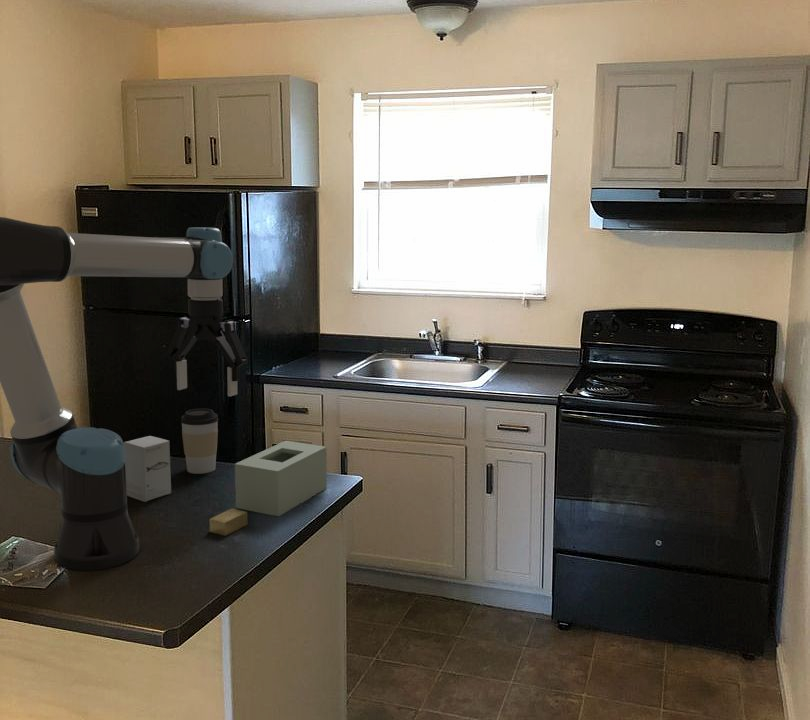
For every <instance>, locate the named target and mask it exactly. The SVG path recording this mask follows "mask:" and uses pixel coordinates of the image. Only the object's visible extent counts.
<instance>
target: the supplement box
mask: <svg viewBox="0 0 810 720" xmlns="http://www.w3.org/2000/svg"><path fill="white" fill-rule="evenodd" d="M123 444H124V450H125V454H126V461H125V468H126V489H127V497H130V498H133V499H135V500H139V501H141V502H144V503H146V502H148V501H151V500H153V499H157V498H160V497H164V496H167V495H170V494H171V493H172V481H171V478H172V477H171V475H172V474H171V455H170V454H171V452H170V448H171V447H170V446H171V445H170V440H169V439H168V440H167V439H164V438H161V437H156V436H152V435H148V436H143V437H139V438H136V439H132V440H131V439H130V440H128V441H123Z"/></svg>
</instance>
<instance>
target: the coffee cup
mask: <svg viewBox="0 0 810 720" xmlns="http://www.w3.org/2000/svg"><path fill="white" fill-rule="evenodd" d="M218 416H219V415H218V414H217V413H215V412H214V410H213V409H211V408H192V409H189V410H186V411H185V413H184V414H183V415H182V416H181V417H180V423H181V428H182V429H181V434H182V435H181V437H182V443H183V452H184V455H185V463H186V471H187V472H188V473H190V474H194V475H195V474H196V475H198V474H199V475H200V474H201V475H202V474H209V473H211V472H213V471H215V470H216V464H217V461H216V460H217V452H218V451H217V450H218V449H217V448H218V437H219V435H218V432H219V429H218V425H219V424H218V423H219V422H218V421H219V417H218Z"/></svg>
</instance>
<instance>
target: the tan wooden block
mask: <svg viewBox="0 0 810 720" xmlns="http://www.w3.org/2000/svg"><path fill="white" fill-rule="evenodd" d="M247 525H248V511H247V510H242V509H238V508H232V507H231V508H229V509H227V510H226V511H223V512H221V513H219V514H217V515H214V516H212V517H211V518H209V533H213V534H217V535H220V536H225V537H226V536H228V535H229V534H232V533H233V532H236V531H237V530H240V529H241V528H243V527H245V526H247Z"/></svg>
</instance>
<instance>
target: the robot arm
mask: <svg viewBox="0 0 810 720" xmlns="http://www.w3.org/2000/svg"><path fill="white" fill-rule="evenodd" d="M222 236H223V235H222V232H221V230H220V229H219V228H218V227H217V228H216V227H204V226H203V227H195V226H194V227H188V228H187V230H186V235H185V236H183V237H176V236H175V237H173V236H172V237H171V236H170V237H167V236H166V237H164V236H162V237H158V236H153V237H151V236H150V237H149V236H148V237H146V236H131V235H128V236H127V235H113V234H97V233H95V234H94V233H93V234H91V233H78V232H77V233H75V232H67V230H65V228H63V227H61V226H58V225H57V226H55V225H43V224H38V223H31V222H27V221H24V220H23V221H22V220H20V219H14V218H9V217H4V216H3V217H2V216H0V385H1V388H2V391H3V394H4V396H5V399H6V401H7V404H8V406H9V409H10V412H11V414H12V416H13V420H14V423H13V424H12V426H11V428H10V430H9V431H10V432H9V433H10V436H11V438H12V444H10V449H9V450H10V451H9V452H10V459H11V462H12V465H13V467H14V469H15V470H16V471H17V472H18V473H19V474H20V475H21V476H22V477H24V478H25V479H26V480H28V481H29V482H32V483H34V484H38V485H40V486H42V487H45V488H48V489H49V490H53V491H55V492H57V493H59V494H60V506H61V523H60V526H59V529H58V535H57V540H56V542H55V544H54V548H53V552H54V553H53V554H54V562H55V561H56V562H55V564H56V565H58V566H59V565H60V568H61V567H62V568H63V569H66V570H71V571H97V570H105V569H109V568H113V567H117V566H120V565H123V564H125V563H127V562H129V561H132V559H134V558H135V557H136V556H137V555H138V554H139V552H140V539H139V535H138V533H137V532H136V531H135V528H134V524H133V521H132V520H131V519H132V518H131V517H130V514H129V511H128V496H127V489H126V468H125V461H126V454H125V450H124V444H123V443H124V441H123V439H122V437H121V435H119V434H118V433H116V432H114V431H113V430H110V429H106V428H101V427H100V428H96V427H92V426H91V427H90V426H88V427H87V426H86V427H78V425H77V423H76V420H75V417H74V414H73V412H72V410H71V409H69V408H67V407H63V406H62V405H61V403H60V400H59V398H58V394H57V392H56V391H57V390H56V389H55V386H54V383H53V379H52V378H51V375H50V371H49V369H48V367H47V364H46V361H45V357H44V355H43V352H42V349H41V347H40V344H39V341H38V338H37V336H36V332H35V330H34V327H33V324H32V321H31V319H30V316H29V313H28V310H27V307H26V305H25V301H24V299H23V295H22V293H21V290H22V289H23V286H24V285H26V284H33V283H48V282H49V283H50V282H53V283H56V282H57V283H58V282H59V283H60V282H63V281H65V279H66V278H68V277H115V278H117V277H118V278H119V277H120V278H122V277H123V278H124V277H125V278H127V277H128V278H129V277H130V278H131V277H133V278H134V277H137V278H187V296H188V297H189V299H188V300H187V307H188V309H187V313H188V315H189V318H188V317H187V316H184V317H178V318H177V320H176V329H175V331H174V334H173V336H172V339H171V341H170V343H169V347H168V348H167V351H166V352H165V356H166V357H167V358H170V359H172V360H173V366H174V367H173V369H174V371H173V373H174V375H176V390H177V391H182V390H185V389H187V388H188V363H187V361H188V360H187V359H186V356H187V354H188V353H189V351H190V350H191V349H192V347H193V346H194V345H195V343H196V342H197V341H198V340H199V341H203V340H204V341H206V342H207V341H209V342H210V341H212V343H213V344H215V345H216V347H217V348H218V350H219V351H220V352H221V354H222V355H223V357H224V358H225V360H226V361H227V362H228V364H229V366H228V367H227V368H226V369H227V370H226V371H227V373H226V374H227V397H232V396H233V397H234V396H237V395H238V381H240V379H241V366H243V365H246V364H248V363H249V359H248V357H247V355H246V352H245V350H244V347H243V345H242V343H241V341H240V338H239V336H238V334H237V330H236V323H235V321H233V320H231V321H225V322H223V314H224V302H223V301H224V300H223V299H222V298H221V297H223V293H224V291H223V278H225V277H227V276H228V274H230V272H231V270H232V268H233V264H234V263H233V262H234V256H233V252H232V250H231V248H230V247H229V246H228V245H227V244H226V243H224V242H223V237H222ZM188 328H189V329H190V331H189V333H188V334H187V336H186V333H187V331H188ZM222 331H223V332H224V333H223V332H222ZM185 336H186V338H185Z"/></svg>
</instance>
